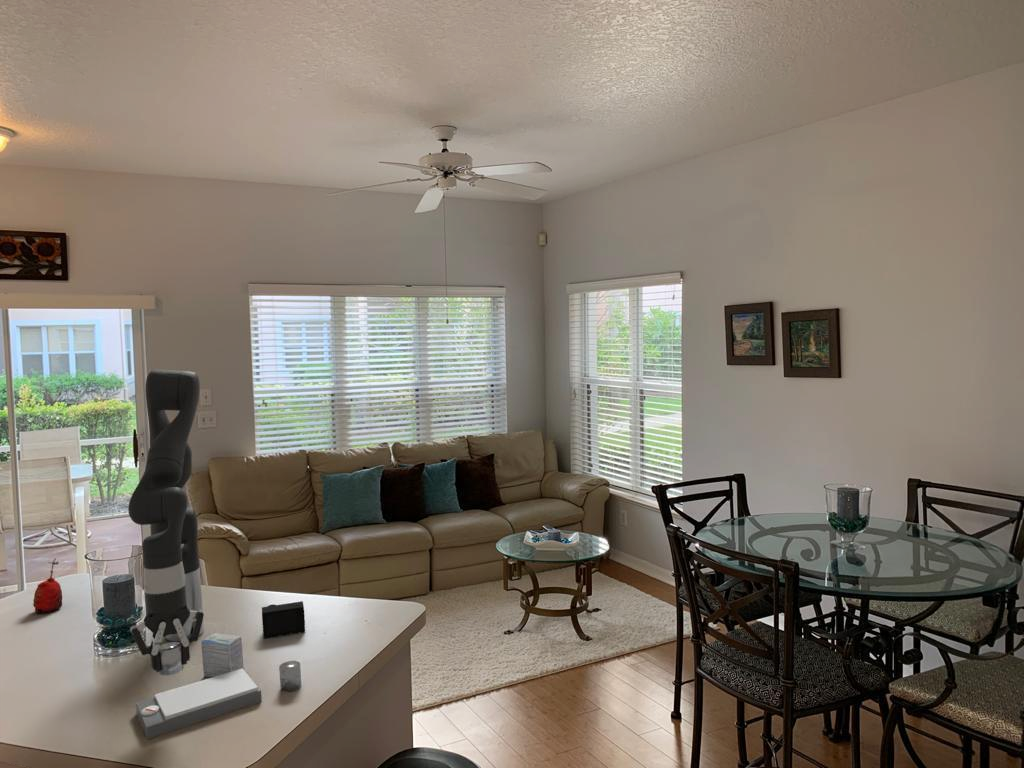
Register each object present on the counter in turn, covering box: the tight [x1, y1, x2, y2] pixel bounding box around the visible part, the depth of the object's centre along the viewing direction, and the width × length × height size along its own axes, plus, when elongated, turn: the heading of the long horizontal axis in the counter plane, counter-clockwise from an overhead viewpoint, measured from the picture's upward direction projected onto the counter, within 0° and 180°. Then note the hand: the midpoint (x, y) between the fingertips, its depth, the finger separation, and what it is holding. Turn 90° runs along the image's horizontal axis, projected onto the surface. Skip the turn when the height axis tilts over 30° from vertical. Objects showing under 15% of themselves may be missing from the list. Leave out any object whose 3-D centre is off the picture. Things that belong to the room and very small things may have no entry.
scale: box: [135, 668, 263, 740], centre depth 152 cm, size 12×22×3 cm, turn 126°
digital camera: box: [261, 600, 306, 640], centre depth 189 cm, size 10×5×7 cm, turn 109°
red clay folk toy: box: [32, 558, 63, 615], centre depth 209 cm, size 8×7×15 cm
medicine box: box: [200, 632, 245, 678], centre depth 166 cm, size 8×4×9 cm, turn 71°
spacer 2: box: [278, 660, 302, 693], centre depth 159 cm, size 4×4×5 cm
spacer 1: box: [158, 641, 184, 676], centre depth 148 cm, size 4×4×5 cm
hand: (170, 666), depth 148 cm, fingers closed on spacer 1, 4 cm apart
